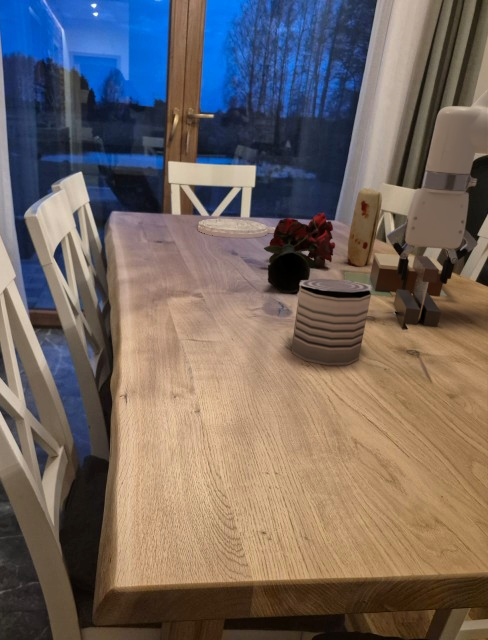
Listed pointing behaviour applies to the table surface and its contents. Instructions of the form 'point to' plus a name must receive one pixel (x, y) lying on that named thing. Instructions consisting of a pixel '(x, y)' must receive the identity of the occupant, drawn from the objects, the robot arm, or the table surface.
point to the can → (330, 321)
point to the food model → (364, 227)
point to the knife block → (415, 310)
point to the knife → (423, 279)
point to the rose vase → (298, 251)
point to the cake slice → (385, 273)
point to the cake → (411, 276)
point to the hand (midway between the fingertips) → (422, 279)
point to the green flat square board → (370, 283)
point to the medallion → (234, 228)
